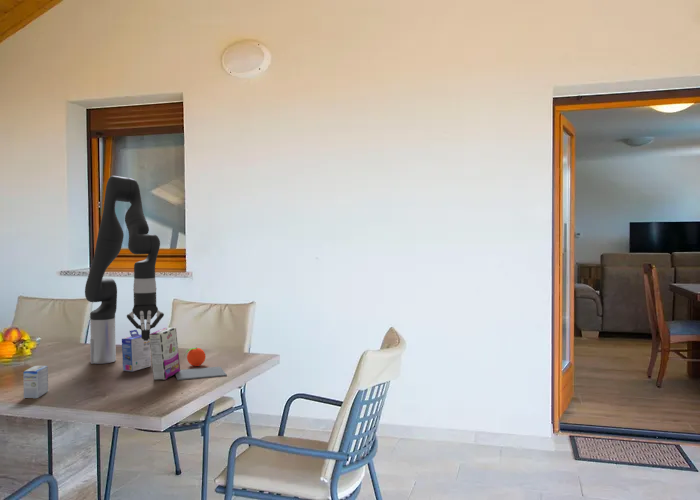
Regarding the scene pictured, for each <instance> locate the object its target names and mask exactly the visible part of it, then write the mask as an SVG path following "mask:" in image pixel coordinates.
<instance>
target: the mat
mask: <svg viewBox="0 0 700 500" xmlns="http://www.w3.org/2000/svg"><path fill="white" fill-rule="evenodd" d="M174 376H175V378H176V381H185V380H197V379H208V378H209V379H210V378H218V377H219V378H220V377H227V376H228V375H227V373H226V372H225V370H224V369H223V368H222V367H221V366H212V367H211V366H210V367H200V368H199V367H198V368H188V369H180V372H178V373H176V374H175V375H174Z"/></svg>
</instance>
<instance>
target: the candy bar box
mask: <svg viewBox="0 0 700 500" xmlns="http://www.w3.org/2000/svg"><path fill="white" fill-rule="evenodd" d="M177 335H178V334H177V327H175V326H174V327H163V328H162V329H159V330H156V331H154V332H150V334H149V338H150V351H151V366H152V374H153V376H152V377H153V380H154V381H161V380H162V381H163V380H167V379H169V378H171V377H172V376H175V374H176V373H178V372H180V370H181V366H180V356H179V355H180V354H179V346H178V345H179V344H178V336H177Z"/></svg>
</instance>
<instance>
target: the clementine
mask: <svg viewBox="0 0 700 500" xmlns="http://www.w3.org/2000/svg"><path fill="white" fill-rule="evenodd" d="M185 355H186V354H184V356H185ZM186 360H187V363H189V364H190V365H191V366H193V367H199V366H201V365H203V364H204V362H205V360H206V353H205V351H204V350H203V349H202V348H199V347H192V348H189V349H187V356H186Z"/></svg>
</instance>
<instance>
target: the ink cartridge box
mask: <svg viewBox="0 0 700 500" xmlns="http://www.w3.org/2000/svg"><path fill="white" fill-rule="evenodd" d="M129 334H130V336H128V337H127V336H126V337H124V338H121V351H122V354H121V355H122V370H123V371H125V372H136V371H139V370H143V369H145V368H146V369H147V368H149V367H151V366H152V357H151V348H150V339H148V340H147V341H144V339H142V337H141V334H139V332H138V330H137V329H132V330H129Z"/></svg>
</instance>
